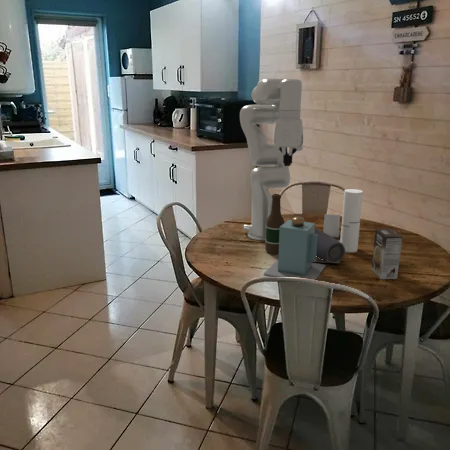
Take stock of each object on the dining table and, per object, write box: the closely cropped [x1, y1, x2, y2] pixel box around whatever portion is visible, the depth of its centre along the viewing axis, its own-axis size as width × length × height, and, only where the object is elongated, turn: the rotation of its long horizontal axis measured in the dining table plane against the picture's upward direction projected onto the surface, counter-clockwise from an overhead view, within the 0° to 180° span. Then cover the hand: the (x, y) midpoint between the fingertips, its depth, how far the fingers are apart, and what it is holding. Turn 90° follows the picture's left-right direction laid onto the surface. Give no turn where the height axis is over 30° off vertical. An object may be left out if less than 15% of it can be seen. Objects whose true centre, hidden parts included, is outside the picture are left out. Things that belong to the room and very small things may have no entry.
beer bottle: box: [264, 193, 286, 255], centre depth 186 cm, size 8×8×24 cm
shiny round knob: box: [291, 216, 305, 227], centre depth 167 cm, size 7×7×16 cm
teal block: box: [263, 219, 326, 280], centre depth 168 cm, size 18×18×18 cm
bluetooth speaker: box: [314, 228, 346, 264], centre depth 183 cm, size 23×9×10 cm, turn 20°
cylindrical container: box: [339, 188, 364, 253], centre depth 189 cm, size 7×7×25 cm
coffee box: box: [371, 228, 403, 280], centre depth 165 cm, size 9×6×16 cm
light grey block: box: [322, 213, 341, 238], centre depth 208 cm, size 4×7×10 cm, turn 79°
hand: (287, 165), depth 171 cm, fingers closed
